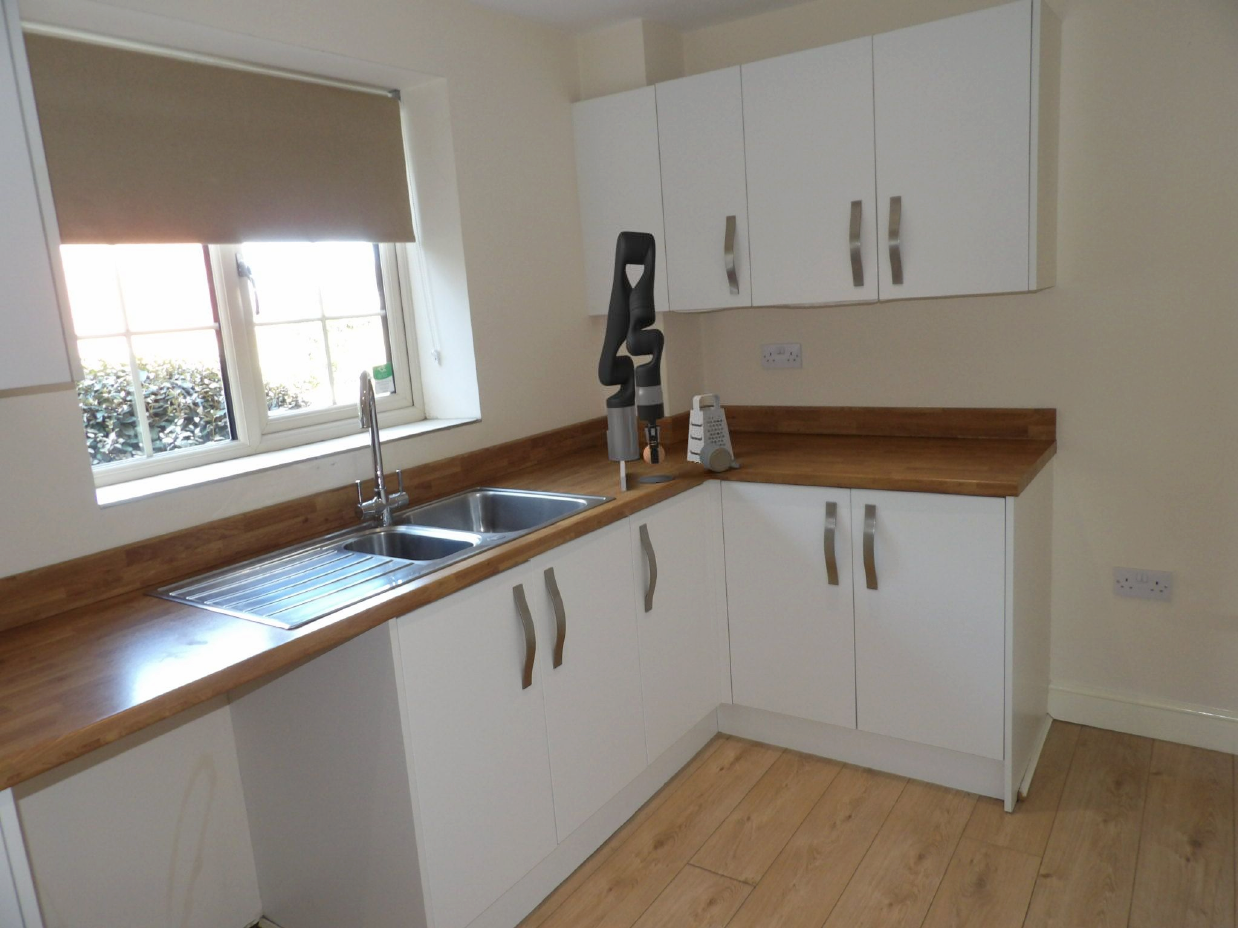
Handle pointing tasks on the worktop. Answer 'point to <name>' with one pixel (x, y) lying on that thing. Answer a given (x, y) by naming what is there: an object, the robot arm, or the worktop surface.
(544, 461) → the worktop surface
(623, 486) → the low wall
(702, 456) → the ceramic mug
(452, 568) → the worktop surface
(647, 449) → the ball
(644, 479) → the pad
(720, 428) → the grater
